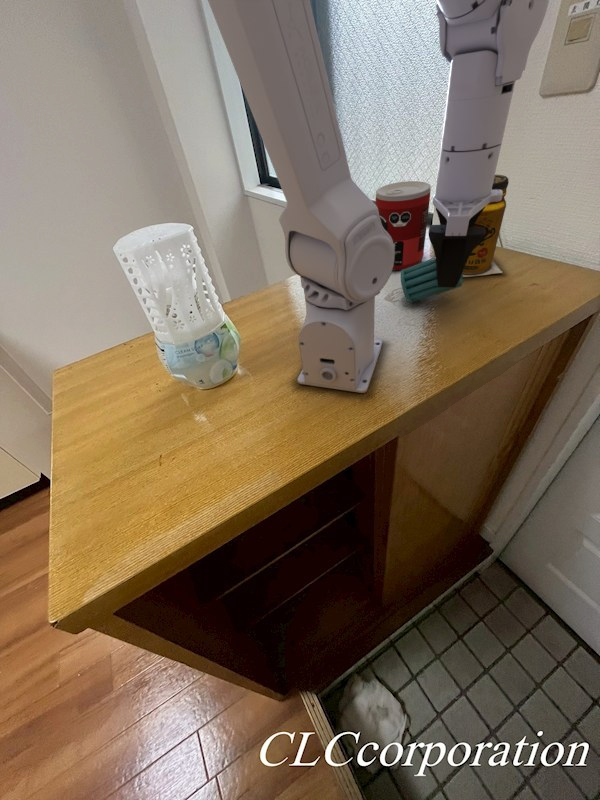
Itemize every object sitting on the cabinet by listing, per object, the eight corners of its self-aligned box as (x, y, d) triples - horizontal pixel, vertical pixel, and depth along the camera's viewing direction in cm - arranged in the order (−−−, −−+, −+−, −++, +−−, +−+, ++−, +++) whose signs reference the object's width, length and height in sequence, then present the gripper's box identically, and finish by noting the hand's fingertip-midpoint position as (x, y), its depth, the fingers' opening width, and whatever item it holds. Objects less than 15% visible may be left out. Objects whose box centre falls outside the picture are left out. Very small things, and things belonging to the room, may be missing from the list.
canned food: (366, 261, 60) (365, 190, 53) (403, 248, 62) (408, 178, 54) (392, 275, 55) (396, 199, 47) (432, 261, 57) (442, 185, 49)
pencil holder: (408, 312, 47) (396, 282, 44) (415, 289, 51) (404, 261, 49) (463, 295, 43) (453, 262, 40) (465, 272, 47) (456, 241, 44)
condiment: (450, 279, 52) (466, 189, 43) (438, 256, 58) (450, 173, 49) (502, 274, 50) (528, 180, 42) (484, 251, 56) (504, 166, 48)
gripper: (519, 158, 29) (482, 303, 38) (511, 128, 38) (483, 250, 48) (431, 165, 31) (417, 299, 41) (444, 135, 41) (430, 250, 50)
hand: (448, 273), depth 44 cm, fingers closed on pencil holder, 6 cm apart
